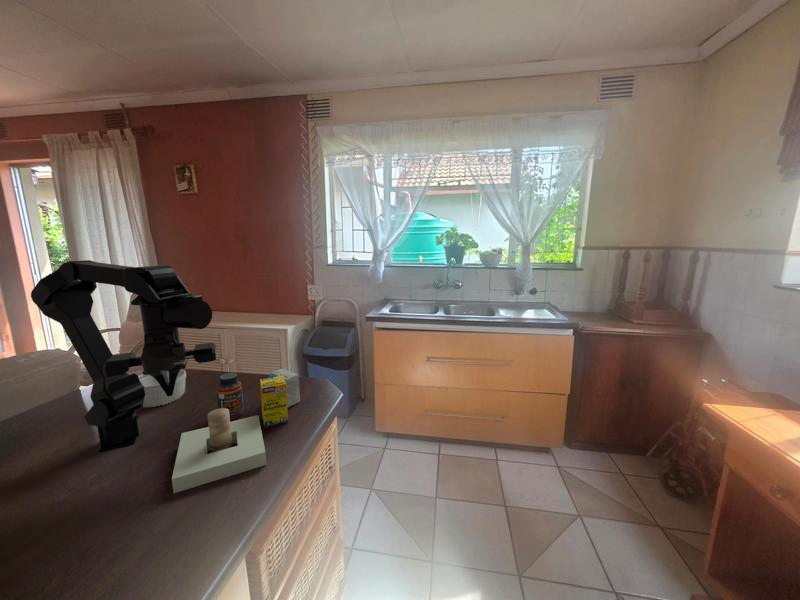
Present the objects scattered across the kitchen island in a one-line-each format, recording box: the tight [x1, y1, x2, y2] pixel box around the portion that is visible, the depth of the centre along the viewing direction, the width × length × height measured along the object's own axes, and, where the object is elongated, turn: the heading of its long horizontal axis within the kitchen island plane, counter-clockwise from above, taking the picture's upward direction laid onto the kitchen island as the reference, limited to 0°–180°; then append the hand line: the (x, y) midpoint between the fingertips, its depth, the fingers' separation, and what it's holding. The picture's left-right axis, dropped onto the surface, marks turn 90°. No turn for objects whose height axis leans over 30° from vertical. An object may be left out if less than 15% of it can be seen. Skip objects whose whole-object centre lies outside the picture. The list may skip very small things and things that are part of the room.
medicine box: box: [268, 368, 301, 409], centre depth 91 cm, size 8×4×9 cm, turn 58°
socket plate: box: [171, 414, 267, 494], centre depth 68 cm, size 16×16×3 cm
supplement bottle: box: [215, 372, 244, 421], centre depth 83 cm, size 6×6×11 cm
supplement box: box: [259, 375, 289, 429], centre depth 81 cm, size 6×6×11 cm
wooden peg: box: [206, 408, 233, 453], centre depth 68 cm, size 4×4×10 cm
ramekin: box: [138, 369, 187, 408], centre depth 92 cm, size 13×13×7 cm
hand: (170, 395), depth 68 cm, fingers closed
